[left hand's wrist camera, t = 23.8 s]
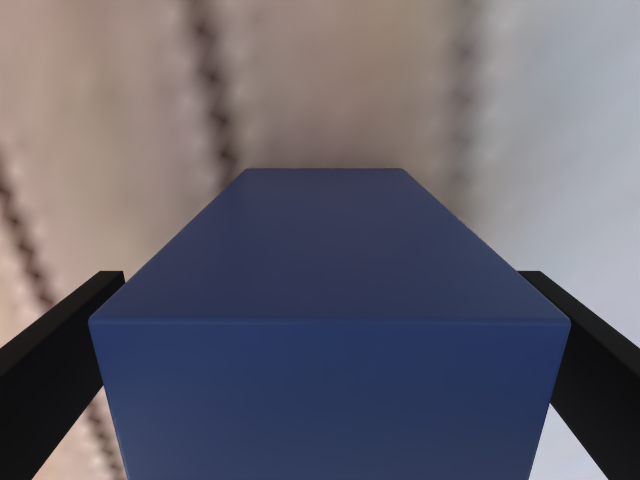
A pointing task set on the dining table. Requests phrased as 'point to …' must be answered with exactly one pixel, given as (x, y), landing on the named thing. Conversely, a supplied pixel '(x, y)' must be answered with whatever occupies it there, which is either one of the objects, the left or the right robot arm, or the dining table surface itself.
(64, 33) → the dining table surface
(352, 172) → the brick
